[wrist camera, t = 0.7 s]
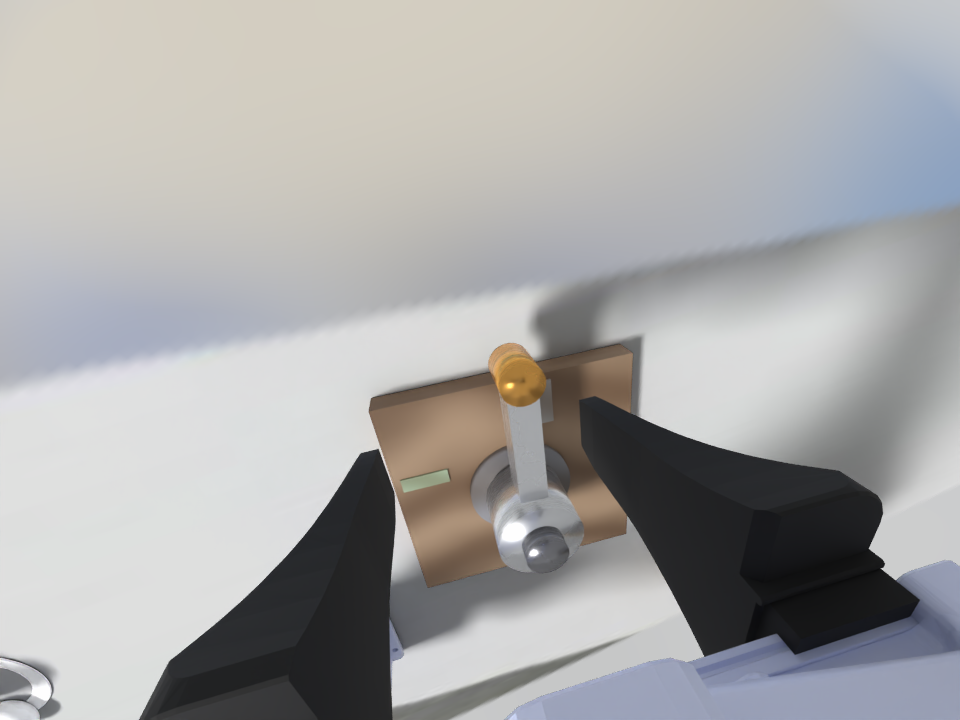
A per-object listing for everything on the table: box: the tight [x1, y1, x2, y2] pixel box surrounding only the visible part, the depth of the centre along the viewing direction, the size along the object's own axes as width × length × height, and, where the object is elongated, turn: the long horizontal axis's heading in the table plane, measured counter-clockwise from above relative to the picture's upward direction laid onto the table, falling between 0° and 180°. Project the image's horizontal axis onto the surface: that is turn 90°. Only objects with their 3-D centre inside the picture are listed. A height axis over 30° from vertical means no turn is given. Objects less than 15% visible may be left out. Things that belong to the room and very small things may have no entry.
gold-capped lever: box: [486, 343, 584, 573], centre depth 20 cm, size 14×5×5 cm, turn 9°
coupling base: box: [369, 344, 633, 588], centre depth 25 cm, size 16×16×2 cm
